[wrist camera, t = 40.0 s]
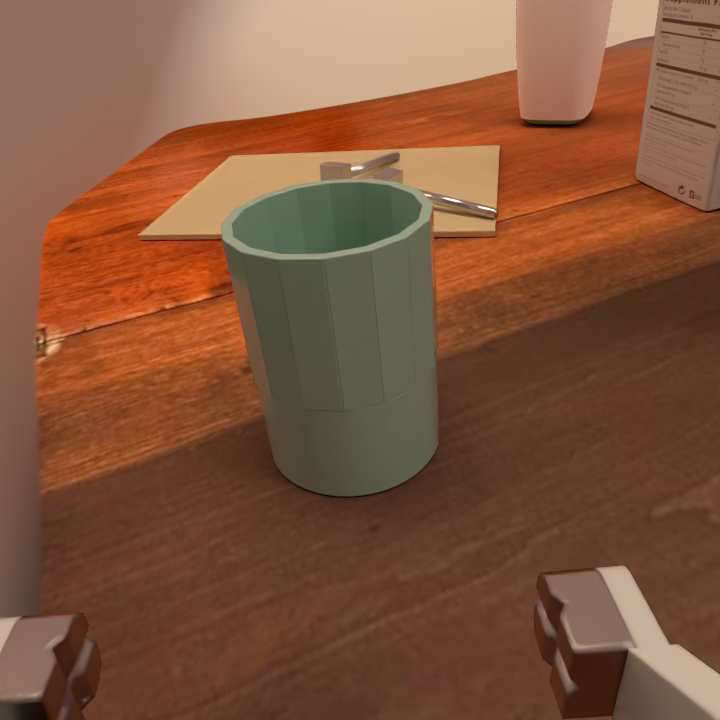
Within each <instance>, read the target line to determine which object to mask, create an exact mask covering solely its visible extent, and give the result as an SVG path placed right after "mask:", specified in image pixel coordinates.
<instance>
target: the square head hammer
mask: <svg viewBox="0 0 720 720" xmlns="http://www.w3.org/2000/svg"><path fill="white" fill-rule="evenodd" d="M399 159H400V154H399V153H398V152H393V153H390V154H387V155H385V156H382V157H379V158H376V159H373V160H370V161H368V162H365V163H362V164H359V165H356V166H354V167H351V164H348V163H340V162H332V161H329V162H326V163H323V164H320V177H321V181H324V180H335V179H352V177H354V176H357V175H360V174H362V173H365V172H368V171H370V170H373V169H376V168H378V167H381V166H384V165H386V164H389V163H392V162H394V161H397V160H399Z"/></svg>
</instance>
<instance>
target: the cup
mask: <svg viewBox="0 0 720 720" xmlns="http://www.w3.org/2000/svg"><path fill="white" fill-rule="evenodd" d="M612 1H613V0H517V2H516V48H517V49H516V50H517V51H516V52H517V53H516V55H517V56H516V57H517V76H518V93H519V105H520V117H521V118H523V119H524V120H525V121H526V122H528V123H532V124H564V125H566V124H576V123H579V122H581V121H582V120H583V119H584V118H585V117H586V116H587V115H588V114H589V112H590V111H591V109H592V108H593V103H594V99H595V94H596V90H597V86H598V81H599V77H600V72H601V66H602V61H603V56H604V51H605V45H606V39H607V33H608V27H609V21H610V14H611V8H612Z"/></svg>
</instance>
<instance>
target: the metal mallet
mask: <svg viewBox="0 0 720 720" xmlns="http://www.w3.org/2000/svg"><path fill="white" fill-rule="evenodd" d="M373 179H374V180H382V181H391V182H398V183H401V184H403V170H399V169H395V168H390V167H388V168H387V169H385V170H383V171H381V172H379V173H377V174H375V175H373ZM415 189H416V188H415ZM418 190H420V189H418ZM420 191H422V192H423V193H424V194H425V195H426V196H427V198H428V199H429V200H430V201H431V202H432V203H433V204H435V205H439V206H443V207H447V208H451V209H455V210H459V211H463V212H467V213H471V214H474V215H478V216H482V217H486V218H490V219H495V218H496V217H497V216H498V210H497V209H496V208H494V207H490V206H486V205H481V204H477V203H473V202H469V201H465V200H461V199H457V198H453V197H449V196H445V195H441V194H436V193H432V192H428V191H424V190H420Z"/></svg>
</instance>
